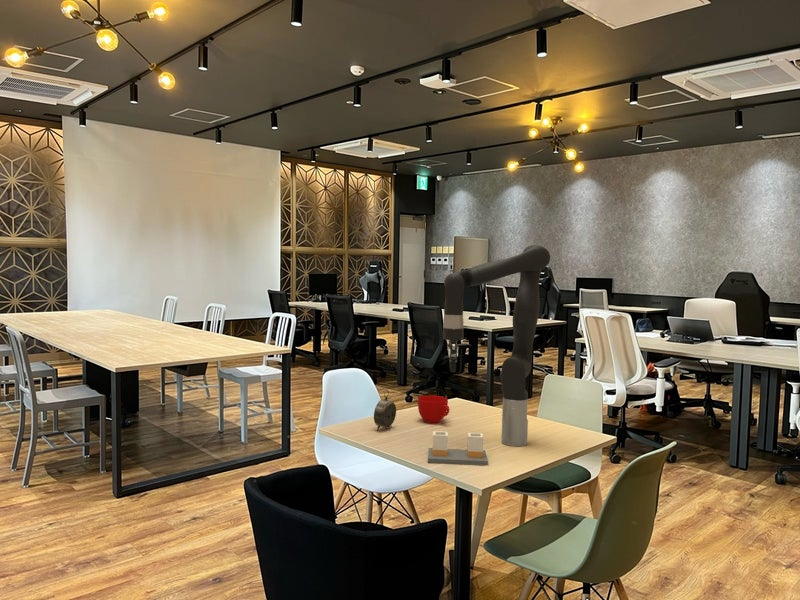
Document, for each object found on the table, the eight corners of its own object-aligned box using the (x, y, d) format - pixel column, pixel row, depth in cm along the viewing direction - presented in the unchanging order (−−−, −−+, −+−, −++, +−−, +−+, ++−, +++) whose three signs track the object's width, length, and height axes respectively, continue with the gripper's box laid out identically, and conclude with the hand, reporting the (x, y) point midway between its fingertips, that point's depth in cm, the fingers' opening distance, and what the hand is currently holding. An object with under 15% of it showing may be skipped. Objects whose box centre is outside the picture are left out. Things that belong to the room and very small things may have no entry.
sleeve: (432, 451, 206) (433, 431, 205) (447, 451, 205) (447, 431, 205) (432, 455, 201) (433, 435, 200) (447, 456, 200) (447, 435, 200)
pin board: (485, 454, 208) (485, 430, 208) (487, 465, 196) (488, 440, 196) (428, 452, 209) (429, 428, 209) (427, 462, 197) (428, 437, 197)
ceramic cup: (436, 429, 240) (436, 405, 240) (411, 420, 254) (411, 397, 254) (459, 425, 248) (460, 401, 248) (434, 416, 262) (434, 394, 261)
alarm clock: (387, 425, 244) (387, 386, 244) (398, 427, 242) (399, 388, 241) (372, 431, 235) (373, 391, 234) (383, 433, 232) (384, 392, 232)
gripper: (442, 325, 226) (442, 367, 226) (443, 328, 212) (442, 373, 212) (462, 325, 225) (461, 367, 226) (464, 328, 211) (463, 373, 212)
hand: (452, 370), depth 219 cm, fingers open, 8 cm apart
